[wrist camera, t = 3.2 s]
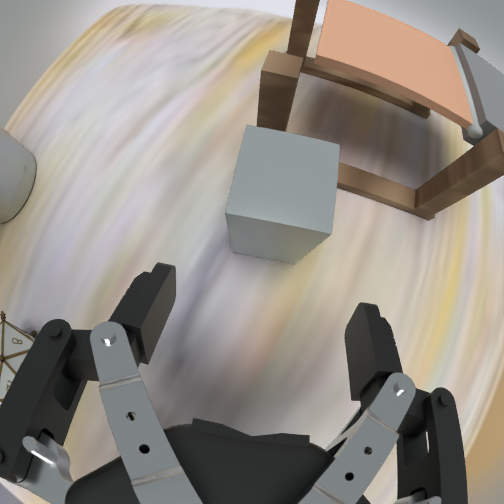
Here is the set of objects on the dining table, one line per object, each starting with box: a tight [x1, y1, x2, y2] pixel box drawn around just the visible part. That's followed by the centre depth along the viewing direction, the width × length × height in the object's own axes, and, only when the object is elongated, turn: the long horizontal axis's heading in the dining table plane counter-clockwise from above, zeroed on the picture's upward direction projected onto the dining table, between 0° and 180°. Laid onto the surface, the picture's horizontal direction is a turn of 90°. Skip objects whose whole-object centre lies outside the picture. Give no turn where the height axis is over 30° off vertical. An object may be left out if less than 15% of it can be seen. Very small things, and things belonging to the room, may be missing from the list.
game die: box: [0, 311, 36, 402], centre depth 16 cm, size 9×8×10 cm
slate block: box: [225, 125, 340, 265], centre depth 18 cm, size 5×5×10 cm
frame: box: [257, 0, 504, 220], centre depth 19 cm, size 18×15×13 cm
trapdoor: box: [314, 0, 504, 146], centre depth 15 cm, size 18×11×3 cm, turn 75°
